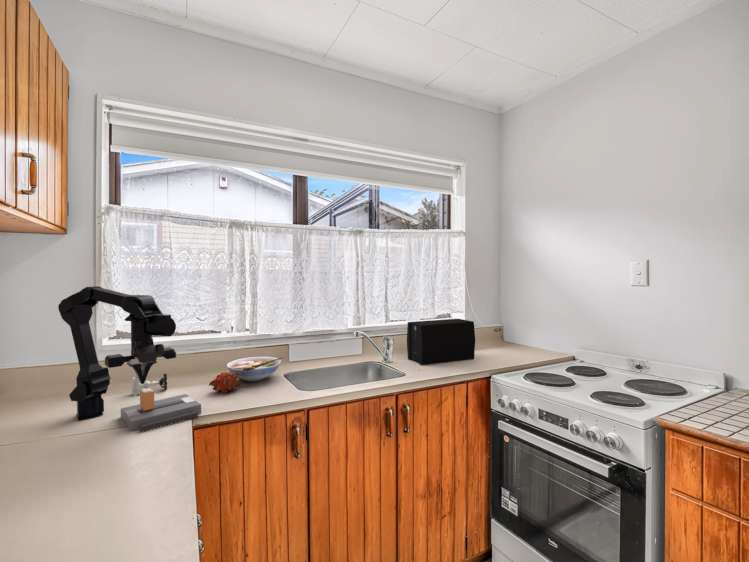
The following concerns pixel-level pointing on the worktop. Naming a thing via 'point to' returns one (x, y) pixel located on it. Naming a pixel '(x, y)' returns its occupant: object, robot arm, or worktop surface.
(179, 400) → the panel
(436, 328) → the uninterruptible power supply
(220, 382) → the dragon fruit
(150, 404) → the orange rectangular block
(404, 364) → the worktop surface
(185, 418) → the grey slab
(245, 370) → the ramen bowl
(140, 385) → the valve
